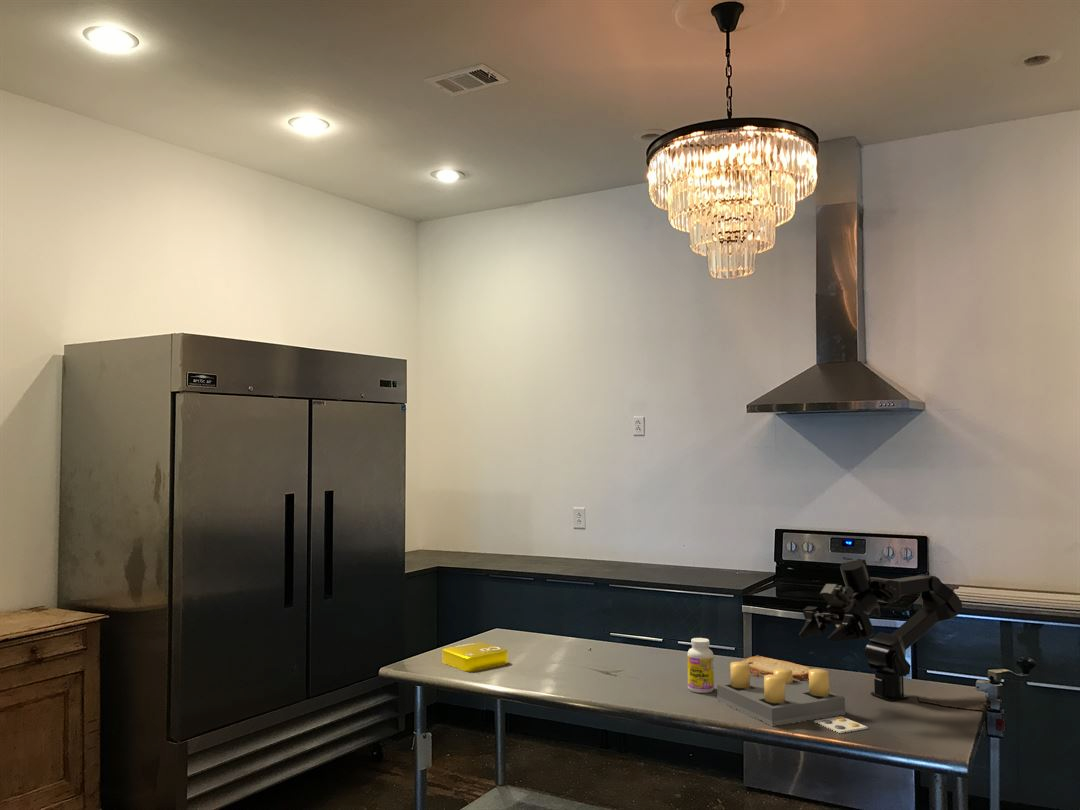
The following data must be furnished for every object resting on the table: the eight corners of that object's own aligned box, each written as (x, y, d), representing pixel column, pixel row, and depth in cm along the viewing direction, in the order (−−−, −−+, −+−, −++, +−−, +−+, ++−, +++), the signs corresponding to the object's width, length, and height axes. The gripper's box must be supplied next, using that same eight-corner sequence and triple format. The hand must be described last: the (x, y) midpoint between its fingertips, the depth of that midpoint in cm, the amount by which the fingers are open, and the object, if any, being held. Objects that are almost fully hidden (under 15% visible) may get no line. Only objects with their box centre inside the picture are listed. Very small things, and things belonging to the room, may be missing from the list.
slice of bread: (820, 680, 222) (819, 666, 223) (758, 685, 219) (758, 670, 219) (787, 664, 240) (786, 651, 240) (729, 667, 236) (729, 654, 236)
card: (841, 718, 190) (841, 715, 190) (867, 728, 183) (867, 726, 183) (814, 722, 187) (814, 720, 187) (839, 733, 180) (839, 731, 180)
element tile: (481, 655, 252) (481, 639, 252) (510, 665, 240) (510, 648, 241) (439, 663, 243) (439, 647, 243) (467, 674, 231) (467, 656, 231)
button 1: (742, 682, 205) (741, 660, 205) (753, 686, 200) (753, 665, 201) (726, 684, 203) (726, 662, 203) (738, 689, 199) (737, 667, 199)
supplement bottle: (685, 692, 211) (684, 641, 212) (690, 685, 217) (689, 636, 218) (711, 694, 209) (710, 643, 209) (715, 687, 215) (715, 638, 216)
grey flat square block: (785, 690, 212) (785, 675, 212) (845, 714, 192) (844, 697, 193) (717, 700, 204) (717, 684, 204) (772, 726, 184) (771, 708, 184)
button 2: (776, 696, 193) (775, 673, 193) (789, 701, 188) (788, 678, 189) (760, 698, 191) (759, 675, 191) (773, 704, 187) (772, 680, 187)
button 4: (820, 689, 198) (819, 667, 198) (833, 694, 194) (833, 672, 194) (804, 692, 196) (804, 669, 196) (818, 697, 192) (817, 674, 192)
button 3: (784, 688, 210) (784, 667, 210) (796, 693, 205) (796, 671, 206) (770, 690, 208) (769, 669, 208) (781, 695, 204) (781, 673, 204)
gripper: (815, 576, 210) (774, 604, 203) (874, 578, 194) (831, 609, 186) (831, 616, 210) (791, 646, 203) (891, 622, 194) (849, 654, 187)
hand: (814, 638), depth 195 cm, fingers open, 9 cm apart
